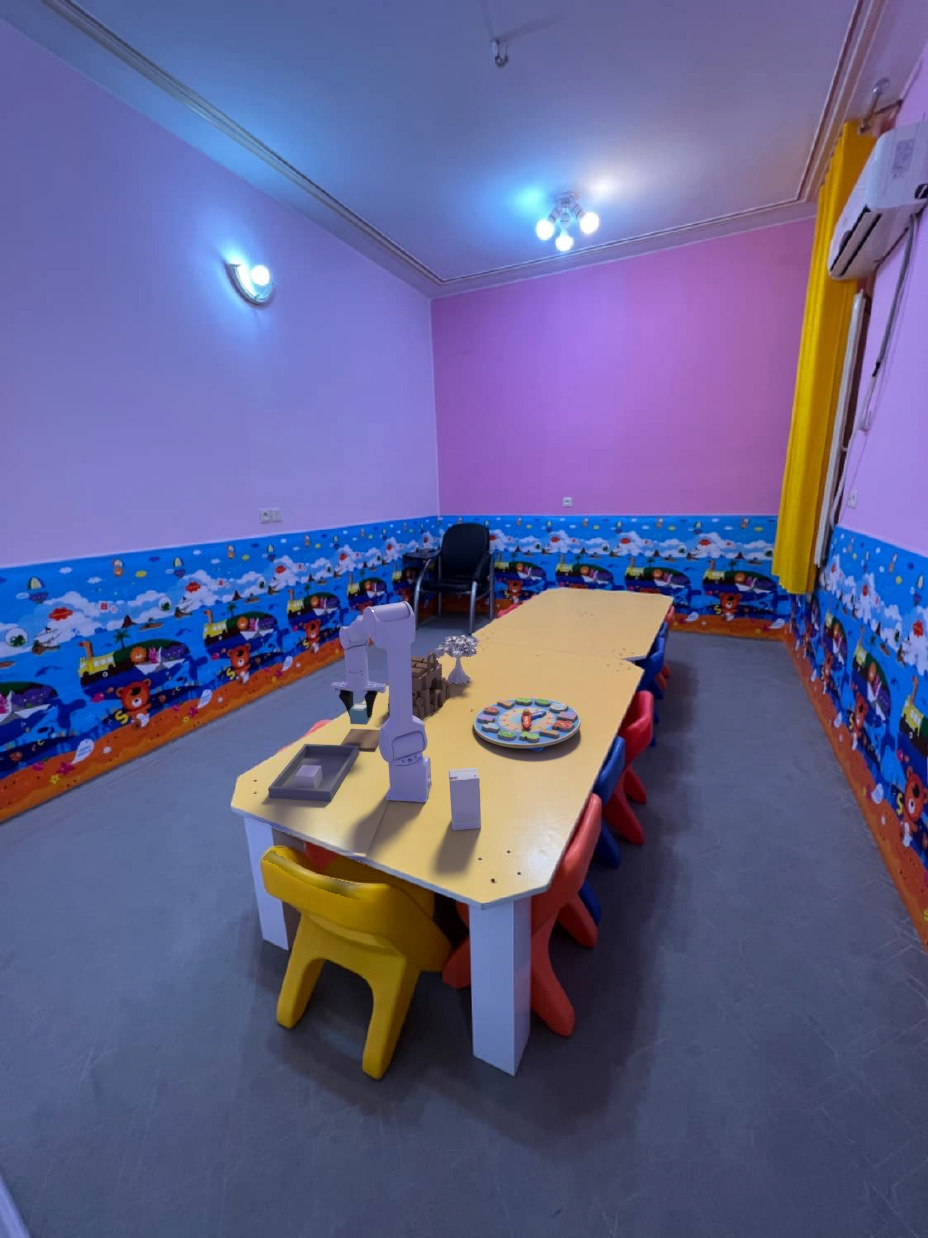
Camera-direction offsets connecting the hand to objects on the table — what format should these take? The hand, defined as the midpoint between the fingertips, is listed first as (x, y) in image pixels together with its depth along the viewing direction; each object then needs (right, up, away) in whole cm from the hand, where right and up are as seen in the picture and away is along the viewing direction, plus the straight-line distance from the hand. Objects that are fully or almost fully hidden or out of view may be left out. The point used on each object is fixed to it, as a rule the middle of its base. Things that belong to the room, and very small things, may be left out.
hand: (360, 715), depth 133 cm
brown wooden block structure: (+14, -2, +25) cm, 29 cm away
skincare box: (+28, -17, -31) cm, 45 cm away
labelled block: (0, -1, 0) cm, 1 cm away
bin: (-8, -12, -13) cm, 20 cm away
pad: (0, -8, +2) cm, 8 cm away
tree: (+26, +4, +44) cm, 51 cm away
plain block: (-8, -13, -18) cm, 24 cm away
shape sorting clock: (+46, -6, +9) cm, 47 cm away
